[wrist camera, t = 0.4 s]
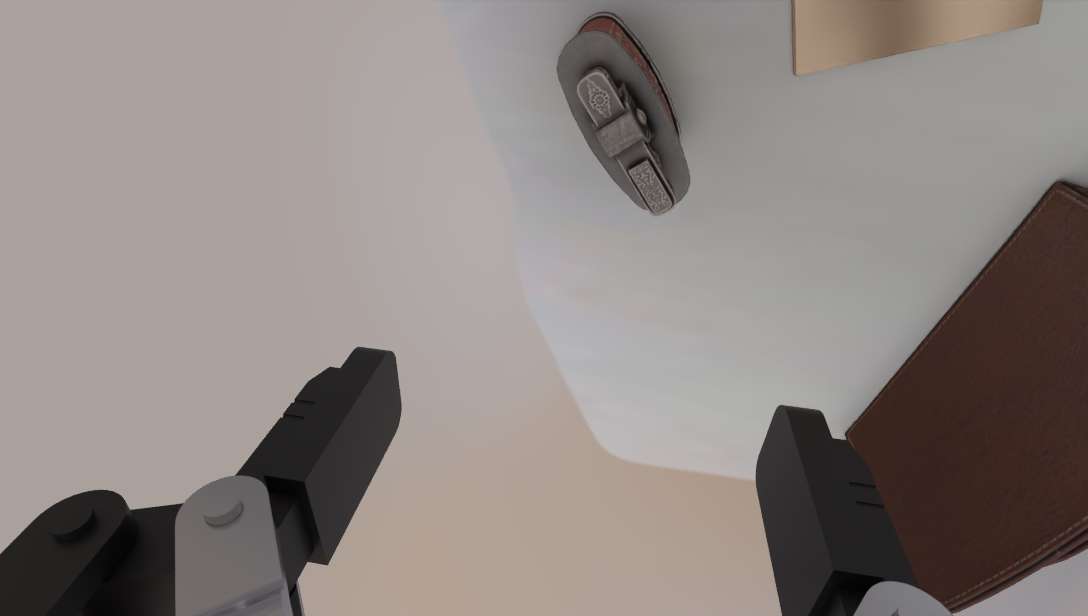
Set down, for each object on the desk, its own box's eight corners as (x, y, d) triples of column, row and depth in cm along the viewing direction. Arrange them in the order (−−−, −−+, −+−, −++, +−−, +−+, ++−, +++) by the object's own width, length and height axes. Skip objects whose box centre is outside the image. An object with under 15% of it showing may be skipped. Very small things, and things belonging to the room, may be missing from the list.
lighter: (559, 37, 29) (526, 76, 20) (618, -5, 27) (607, 18, 19) (638, 169, 32) (637, 250, 23) (694, 137, 30) (714, 210, 22)
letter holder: (841, 433, 40) (924, 637, 28) (1054, 175, 29) (1336, 333, 17) (973, 474, 40) (1109, 693, 28) (1234, 233, 29) (1632, 428, 17)
